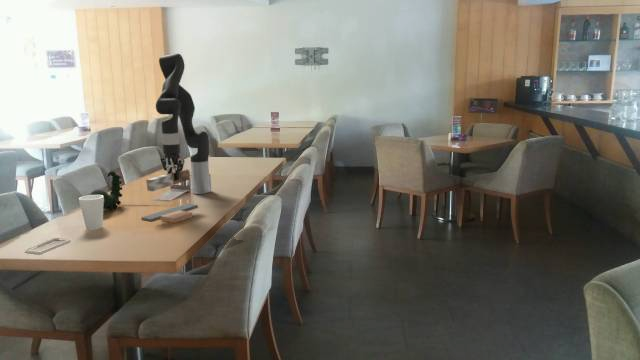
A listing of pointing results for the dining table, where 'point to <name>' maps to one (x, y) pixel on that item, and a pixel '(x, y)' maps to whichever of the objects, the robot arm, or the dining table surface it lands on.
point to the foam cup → (92, 211)
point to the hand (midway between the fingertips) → (173, 180)
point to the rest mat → (159, 214)
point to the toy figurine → (114, 194)
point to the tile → (176, 216)
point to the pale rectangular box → (166, 180)
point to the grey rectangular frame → (47, 248)
